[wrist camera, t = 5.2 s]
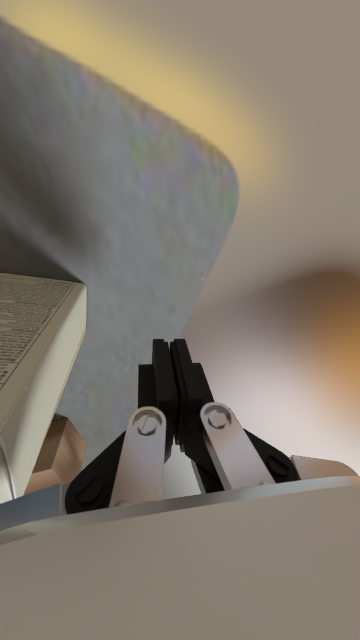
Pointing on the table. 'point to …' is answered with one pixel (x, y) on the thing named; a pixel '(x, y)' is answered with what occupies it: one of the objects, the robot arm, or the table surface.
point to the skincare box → (33, 367)
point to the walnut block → (58, 457)
